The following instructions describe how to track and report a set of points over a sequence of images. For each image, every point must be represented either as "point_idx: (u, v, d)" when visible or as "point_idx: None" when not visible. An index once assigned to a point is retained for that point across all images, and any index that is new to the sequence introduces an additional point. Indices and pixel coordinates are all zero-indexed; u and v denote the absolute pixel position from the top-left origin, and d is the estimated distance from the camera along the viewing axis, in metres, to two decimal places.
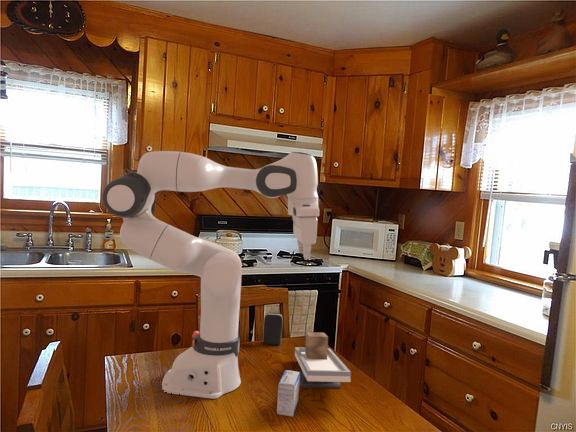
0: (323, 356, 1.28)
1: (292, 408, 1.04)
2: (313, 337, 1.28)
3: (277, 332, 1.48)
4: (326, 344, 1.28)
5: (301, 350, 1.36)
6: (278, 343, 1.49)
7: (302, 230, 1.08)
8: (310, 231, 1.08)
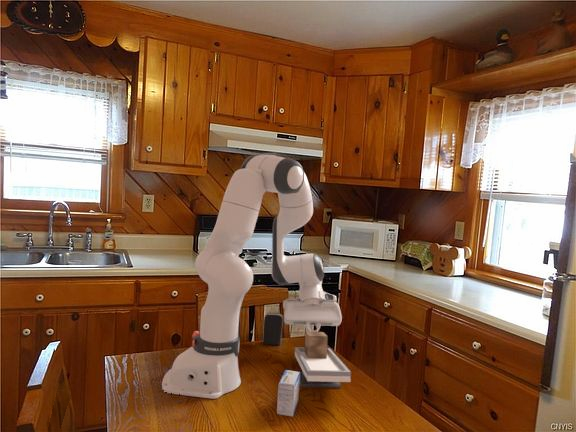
0: (323, 355, 1.29)
1: (292, 408, 1.04)
2: (313, 336, 1.29)
3: (277, 332, 1.48)
4: (325, 343, 1.29)
5: (301, 350, 1.36)
6: (278, 343, 1.49)
7: None
8: None
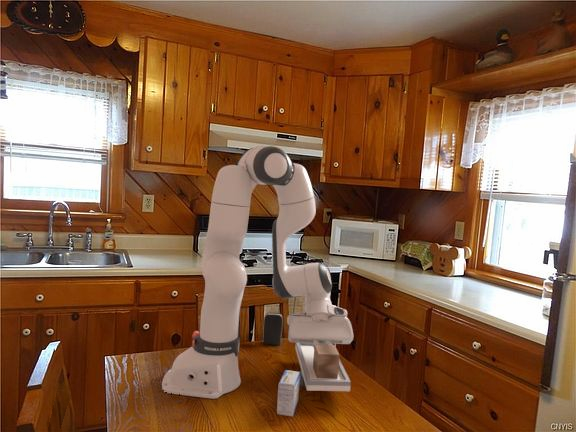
0: (334, 375, 1.14)
1: (292, 408, 1.04)
2: (323, 355, 1.13)
3: (277, 332, 1.48)
4: (337, 362, 1.14)
5: (302, 343, 1.36)
6: (278, 343, 1.49)
7: (351, 327, 1.26)
8: None
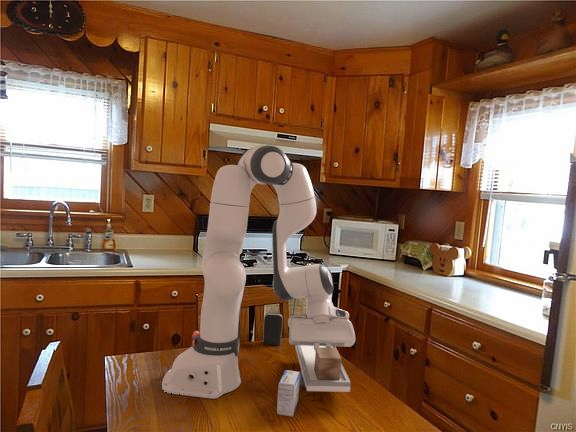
0: (335, 379, 1.12)
1: (292, 408, 1.04)
2: (324, 359, 1.11)
3: (277, 332, 1.48)
4: (339, 366, 1.12)
5: None
6: (278, 343, 1.49)
7: (353, 330, 1.24)
8: None
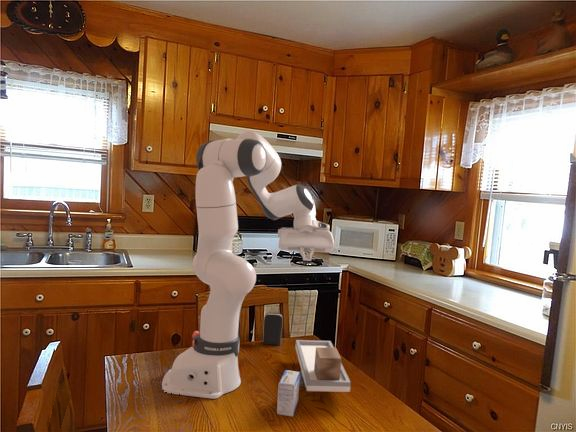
0: (335, 379, 1.12)
1: (292, 408, 1.04)
2: (324, 359, 1.11)
3: (277, 332, 1.48)
4: (339, 366, 1.12)
5: (302, 343, 1.36)
6: (278, 343, 1.49)
7: None
8: None
